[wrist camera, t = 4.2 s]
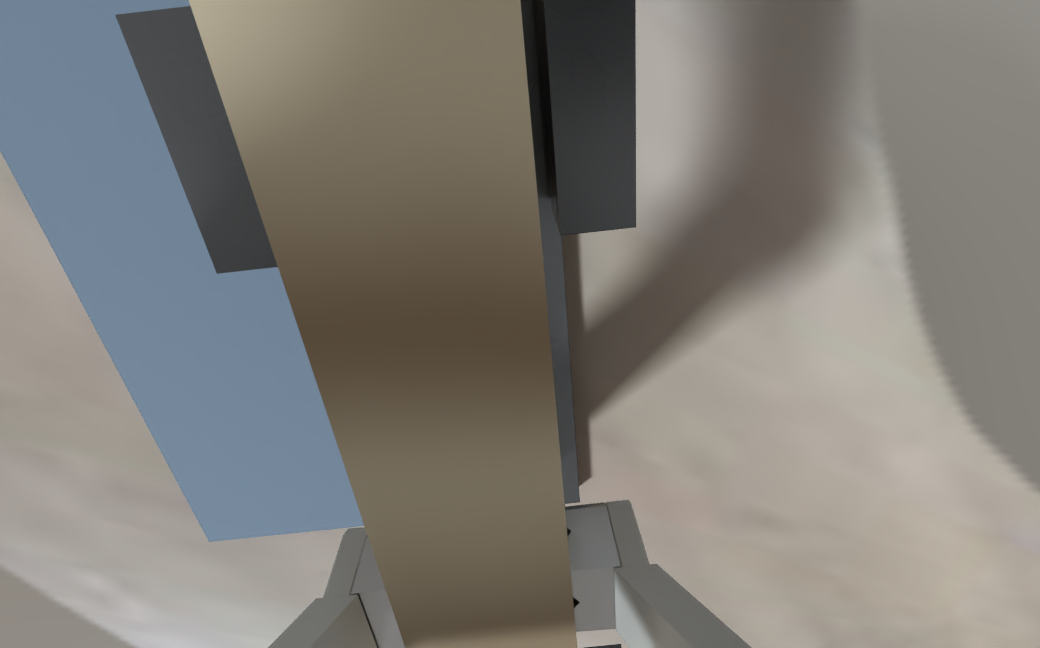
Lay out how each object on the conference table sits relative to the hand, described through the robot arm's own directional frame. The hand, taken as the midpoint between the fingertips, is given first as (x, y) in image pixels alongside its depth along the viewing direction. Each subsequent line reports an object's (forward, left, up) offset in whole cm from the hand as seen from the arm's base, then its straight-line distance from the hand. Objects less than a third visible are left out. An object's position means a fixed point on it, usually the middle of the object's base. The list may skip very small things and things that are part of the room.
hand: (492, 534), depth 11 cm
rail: (0, 0, -1) cm, 1 cm away
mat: (0, -13, -14) cm, 19 cm away
